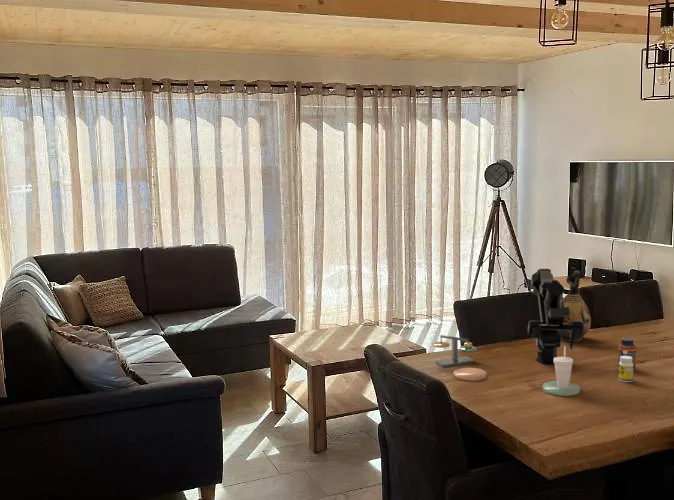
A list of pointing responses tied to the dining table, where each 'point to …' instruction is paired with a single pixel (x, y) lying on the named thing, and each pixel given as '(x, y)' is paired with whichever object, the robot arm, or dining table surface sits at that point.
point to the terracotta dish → (470, 374)
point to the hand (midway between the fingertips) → (557, 348)
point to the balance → (455, 352)
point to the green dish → (561, 389)
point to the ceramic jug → (575, 308)
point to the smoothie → (563, 370)
